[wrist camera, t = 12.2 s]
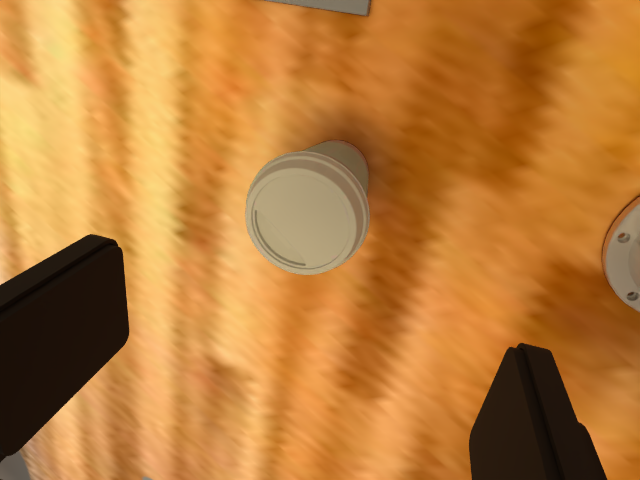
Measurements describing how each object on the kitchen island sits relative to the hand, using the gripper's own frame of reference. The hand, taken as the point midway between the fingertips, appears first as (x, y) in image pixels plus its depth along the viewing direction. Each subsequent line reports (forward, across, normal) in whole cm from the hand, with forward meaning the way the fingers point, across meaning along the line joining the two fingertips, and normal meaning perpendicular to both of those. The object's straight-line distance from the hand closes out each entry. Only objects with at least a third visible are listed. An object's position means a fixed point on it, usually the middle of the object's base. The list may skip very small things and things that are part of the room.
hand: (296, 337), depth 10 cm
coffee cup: (+28, +4, +5) cm, 29 cm away
